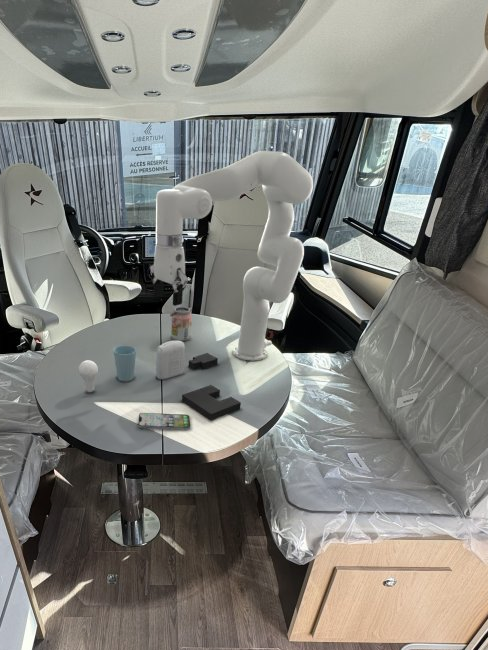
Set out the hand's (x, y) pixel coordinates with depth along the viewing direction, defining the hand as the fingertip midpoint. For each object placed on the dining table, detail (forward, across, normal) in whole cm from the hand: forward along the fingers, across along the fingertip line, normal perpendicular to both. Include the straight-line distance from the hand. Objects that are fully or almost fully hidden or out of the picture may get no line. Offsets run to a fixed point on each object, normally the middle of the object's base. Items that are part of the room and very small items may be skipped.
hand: (167, 300), depth 136 cm
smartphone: (+28, -22, +17) cm, 39 cm away
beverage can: (+28, +27, -28) cm, 48 cm away
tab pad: (+27, +2, -18) cm, 33 cm away
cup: (+28, +9, +10) cm, 31 cm away
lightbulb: (+28, +7, +26) cm, 38 cm away
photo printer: (+28, +2, -4) cm, 28 cm away
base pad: (+27, -22, -1) cm, 35 cm away
